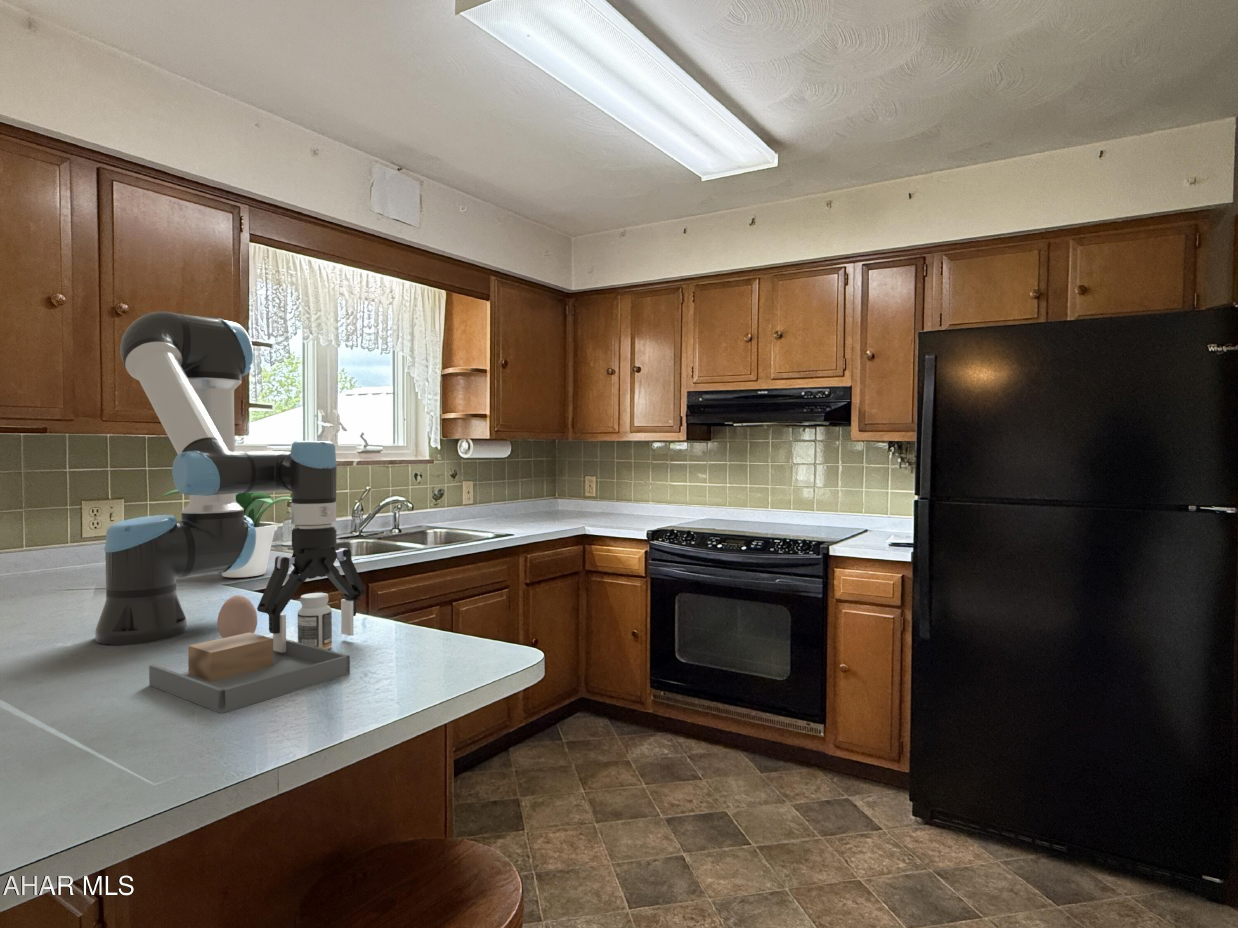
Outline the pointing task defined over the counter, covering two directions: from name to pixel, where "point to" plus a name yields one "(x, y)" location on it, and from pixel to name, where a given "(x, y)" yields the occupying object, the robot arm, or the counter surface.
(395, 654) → the counter surface
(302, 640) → the pill bottle
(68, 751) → the counter surface
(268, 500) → the potted plant
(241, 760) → the counter surface
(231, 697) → the grey rimmed tray
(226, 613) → the egg
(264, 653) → the brown rectangular block
